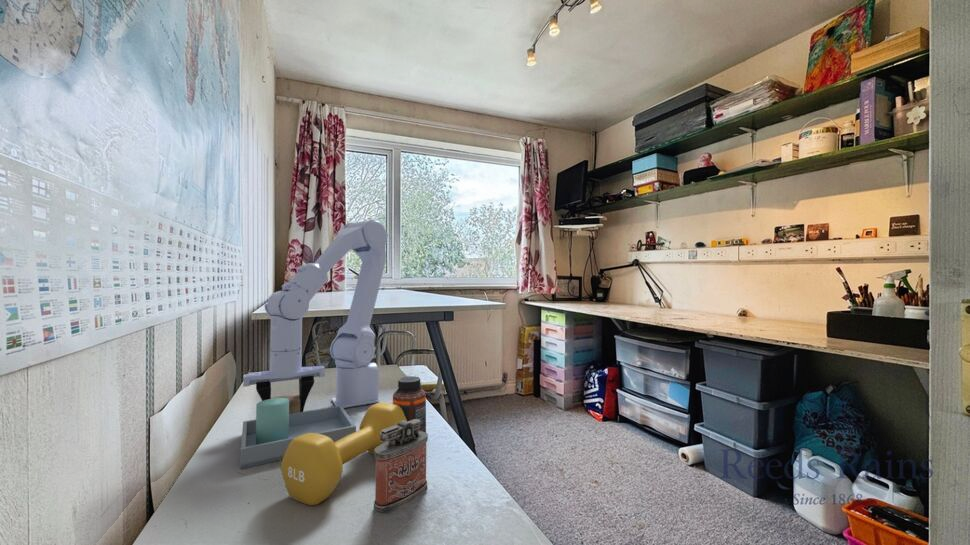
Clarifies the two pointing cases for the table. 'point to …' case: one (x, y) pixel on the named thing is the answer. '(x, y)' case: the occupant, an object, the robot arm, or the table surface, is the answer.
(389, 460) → the lighter
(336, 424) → the tote
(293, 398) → the cube
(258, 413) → the teal cylinder
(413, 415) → the supplement bottle
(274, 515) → the table surface
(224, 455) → the table surface
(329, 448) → the dumbbell
